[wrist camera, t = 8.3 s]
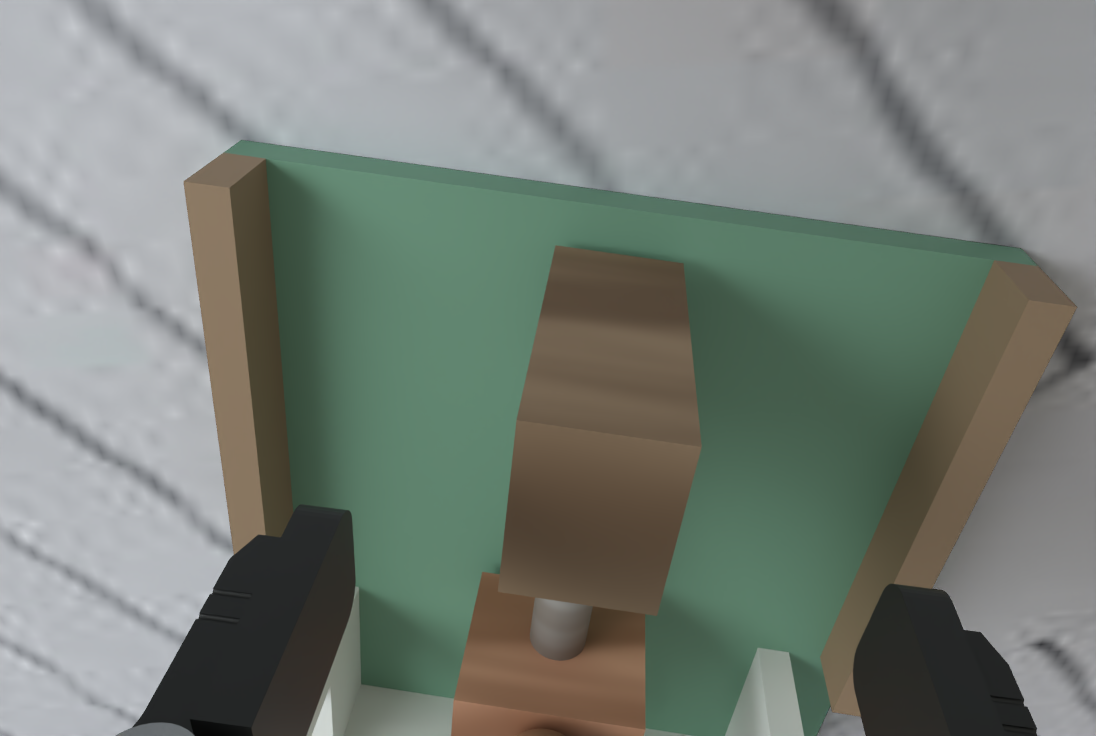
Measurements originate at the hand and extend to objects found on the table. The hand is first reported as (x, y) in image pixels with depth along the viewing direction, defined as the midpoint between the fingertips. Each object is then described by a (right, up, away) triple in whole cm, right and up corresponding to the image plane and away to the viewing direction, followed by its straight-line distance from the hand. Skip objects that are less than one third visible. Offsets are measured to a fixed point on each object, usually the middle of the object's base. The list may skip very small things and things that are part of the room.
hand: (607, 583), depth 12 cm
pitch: (0, -1, +13) cm, 13 cm away
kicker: (0, 0, +10) cm, 10 cm away
